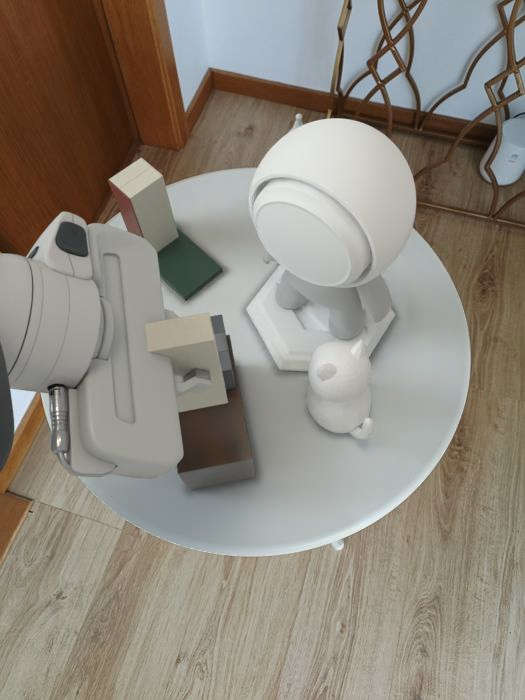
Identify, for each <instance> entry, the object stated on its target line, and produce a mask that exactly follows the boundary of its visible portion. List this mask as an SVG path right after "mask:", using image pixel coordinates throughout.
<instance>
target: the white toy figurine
mask: <svg viewBox="0 0 525 700" xmlns="http://www.w3.org/2000/svg"><path fill="white" fill-rule="evenodd" d="M288 132H289V131H288ZM288 132H287V133H286V134H285V135H284V136H282V137H281V138H280V139H278V140H277V141H276V142H275V143H274V144H273V145H272V147H270V149H269V150H268V151H267V152H266V154H265V155H264V157H262V159H261V161H260V163H259V164H258V166H257V168H256V170H255V172H254V175H253V176H252V181H251V183H250V187H249V192H248V210H249V215H250V218H251V220H252V223H253V225H254V227H255V231H256V233H257V236H258V238H259V240H260V242H261V243H262V244H261V245H263V247H264V248H263V251H262V260H263V263H264V264H265V265H268V264H270V263H271V262H276V263H277V265H278V266H277V267H276V269H275V271H273V273H272V274H271V275H270V277H269V278H268V279H267V281H266V282H265V283H264V284H263V286H262V287H261V288H260V290H259V291H258V292H257V294H255V296H254V297H253V299H252V300H251V301H250V302H249V304H248V305H247V306H246V309H245V310H246V312H247V314H248V316H249V318H250V320H251V322H252V323H253V325H254V326H255V328H256V330H257V332H258V334H259V335H260V338H261V339H262V341H263V343H264V345H265V346H266V348H267V350H268V352H269V353H270V356H271V357H272V359H273V361H274V362H275V364H276V366H277V368H278V369H279V371H287V372H289V371H290V372H307V373H308V371H309V364H310V359H311V356H312V354H313V352H314V351H315V349H316V348H317V347H318V346H320V345H321V344H323V343H326V342H330V341H338V342H348V343H351V344H354V345H355V344H356V343H357V342H358V341H360V340H362V341H364V342H365V345H366V355H367V356H368V358H369V359H370V357H371V355H372V353H373V352H374V350H375V348H376V347H377V345H378V344H379V342H380V341H381V339H382V338H383V336H384V334H385V333H386V331H387V330H388V328H389V326H390V325H391V323H392V321H394V318H395V317H396V314H395V312H394V310H393V309H392V296H391V292H390V289H389V287H388V285H387V283H386V281H385V280H384V278H383V276H382V275H381V274H382V273H383V272H385V271H386V270H387V269H389V267H390V266H391V265H392V264H393V263H395V261H396V259H398V257H399V256H400V254H401V253H402V251H403V249H404V248H405V246H406V244H407V242H408V241H409V237H410V235H411V233H412V230H413V227H414V223H415V218H416V212H417V190H416V184H415V180H414V179H415V178H414V176H413V172H412V171H411V168H410V165H409V164H408V161H407V159H406V157H405V156H404V155H403V153H402V151H401V150H400V149H399V147H398V146H397V145H396V144H395V143H394V142H393V141H392V140H391V138H389V137H388V136H386V135H385V134H384V133H383V132H382V131H380V130H378V129H377V128H375V127H373V126H371V125H369V124H367V123H365V122H362V121H358V120H354V119H348V118H338V117H337V118H335V117H333V118H332V117H331V118H323V119H318V120H314V121H310V122H308V123H305V124H304V123H303V125H302V126H300V127H298V128H296V129H294V130H292V131H291V132H289V133H288Z"/></svg>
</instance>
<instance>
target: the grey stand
mask: <svg viewBox="0 0 525 700" xmlns="http://www.w3.org/2000/svg"><path fill="white" fill-rule="evenodd" d="M210 318H211V322H212V327H213V332H214V336H215V341H216V346H217V350H218V355H219V359H220V364H221V369H222V373H223V378H224V383H225V389H226V394H227V400H228V403H225V404H220V405H215V406H209V407H204V408H199V409H194V410H188V411H183V412H178V414H179V421H180V429H181V436H182V444H183V452H184V454H183V458H182V459H181V460H180V462H179V463H178V464H177V465H176V472H177V474H178V476H179V478H181V480H182V482H183V483H184V485H186V487H187V489H188V490H189V491H193V490H198V489H203V488H208V487H213V486H218V485H223V484H228V483H233V482H238V481H243V480H248V479H249V480H250V479H253V478H256V471H255V465H254V464H255V463H254V458H253V452H252V447H251V442H250V437H249V431H248V425H247V420H246V415H245V409H244V405H243V404H244V403H243V398H242V393H241V388H240V382H239V377H238V372H237V367H236V361H235V355H234V350H233V346H232V340H231V335H230V334H226V329H225V323H224V317H223V314H216V315H210Z"/></svg>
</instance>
